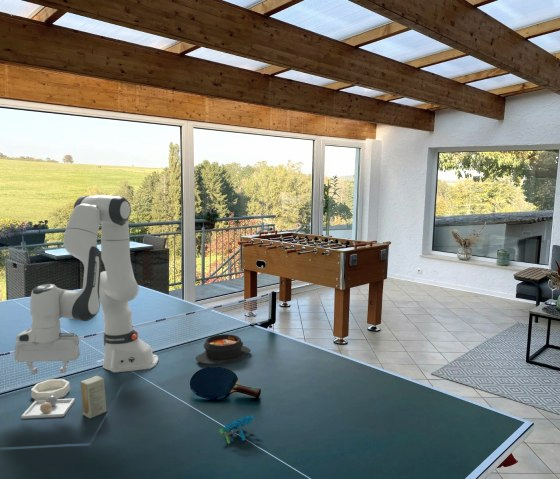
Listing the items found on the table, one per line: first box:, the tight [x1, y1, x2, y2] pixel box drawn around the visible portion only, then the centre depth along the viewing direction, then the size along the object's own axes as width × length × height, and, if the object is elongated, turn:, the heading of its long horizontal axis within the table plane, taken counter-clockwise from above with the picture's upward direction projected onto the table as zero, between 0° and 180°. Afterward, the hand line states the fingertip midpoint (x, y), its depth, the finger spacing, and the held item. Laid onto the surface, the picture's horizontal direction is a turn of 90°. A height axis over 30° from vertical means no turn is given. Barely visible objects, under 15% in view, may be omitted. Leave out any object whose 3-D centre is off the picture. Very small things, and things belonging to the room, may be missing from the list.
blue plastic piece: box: [218, 414, 254, 445], centre depth 147 cm, size 11×6×10 cm
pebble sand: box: [40, 402, 52, 414], centre depth 163 cm, size 4×4×4 cm
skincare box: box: [80, 375, 107, 419], centre depth 162 cm, size 6×4×12 cm
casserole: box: [195, 334, 252, 366], centre depth 211 cm, size 25×19×8 cm
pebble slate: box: [46, 395, 57, 406], centre depth 168 cm, size 4×4×4 cm
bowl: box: [30, 378, 71, 401], centre depth 177 cm, size 12×12×4 cm
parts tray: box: [20, 397, 76, 419], centre depth 165 cm, size 13×11×2 cm
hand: (48, 373), depth 166 cm, fingers open, 8 cm apart
